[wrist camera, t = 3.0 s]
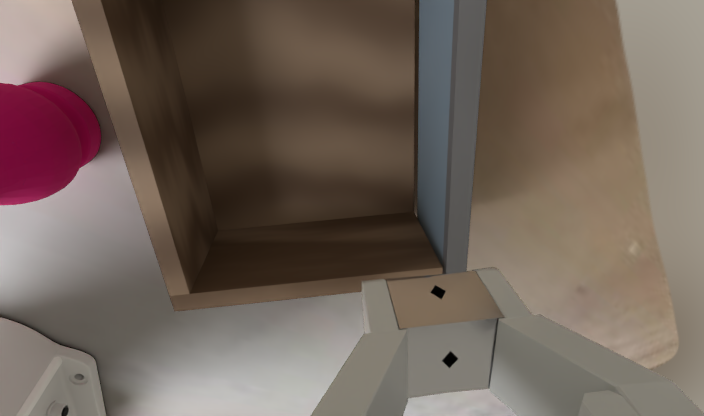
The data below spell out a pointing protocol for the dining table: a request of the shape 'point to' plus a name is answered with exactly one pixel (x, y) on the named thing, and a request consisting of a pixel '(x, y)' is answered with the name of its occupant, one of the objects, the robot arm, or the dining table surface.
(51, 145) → the pepper mill
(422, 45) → the panel
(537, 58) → the dining table surface
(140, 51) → the box
